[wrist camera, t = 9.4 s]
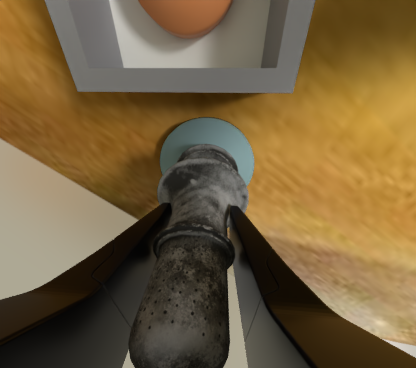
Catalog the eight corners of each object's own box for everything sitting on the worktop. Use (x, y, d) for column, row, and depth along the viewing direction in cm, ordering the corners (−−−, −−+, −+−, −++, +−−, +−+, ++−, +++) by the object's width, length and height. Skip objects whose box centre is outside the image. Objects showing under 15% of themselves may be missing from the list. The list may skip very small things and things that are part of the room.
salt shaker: (228, 209, 15) (245, 470, 5) (167, 193, 15) (41, 445, 4) (253, 152, 12) (450, 530, 2) (177, 130, 12) (-166, 471, 1)
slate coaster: (260, 117, 13) (262, 119, 12) (246, 202, 17) (247, 206, 16) (155, 116, 13) (152, 117, 12) (168, 199, 17) (166, 203, 17)
